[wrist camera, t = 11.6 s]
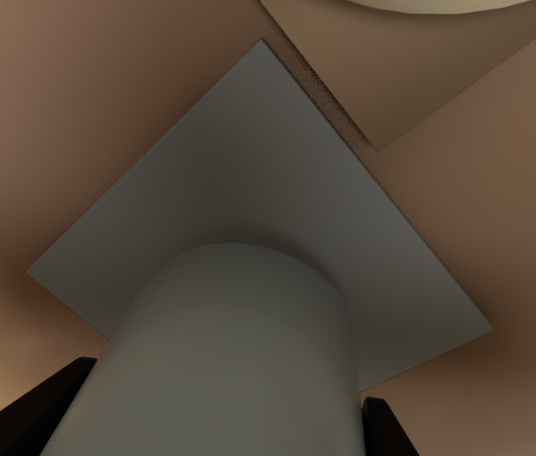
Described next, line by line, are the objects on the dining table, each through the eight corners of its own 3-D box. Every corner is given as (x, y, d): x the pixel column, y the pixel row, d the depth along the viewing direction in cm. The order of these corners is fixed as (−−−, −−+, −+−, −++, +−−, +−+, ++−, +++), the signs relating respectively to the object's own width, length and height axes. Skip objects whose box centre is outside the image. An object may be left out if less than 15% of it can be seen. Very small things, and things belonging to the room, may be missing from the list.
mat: (489, 320, 12) (494, 330, 12) (244, 436, 16) (242, 446, 15) (263, 37, 9) (261, 39, 9) (33, 264, 13) (24, 271, 13)
